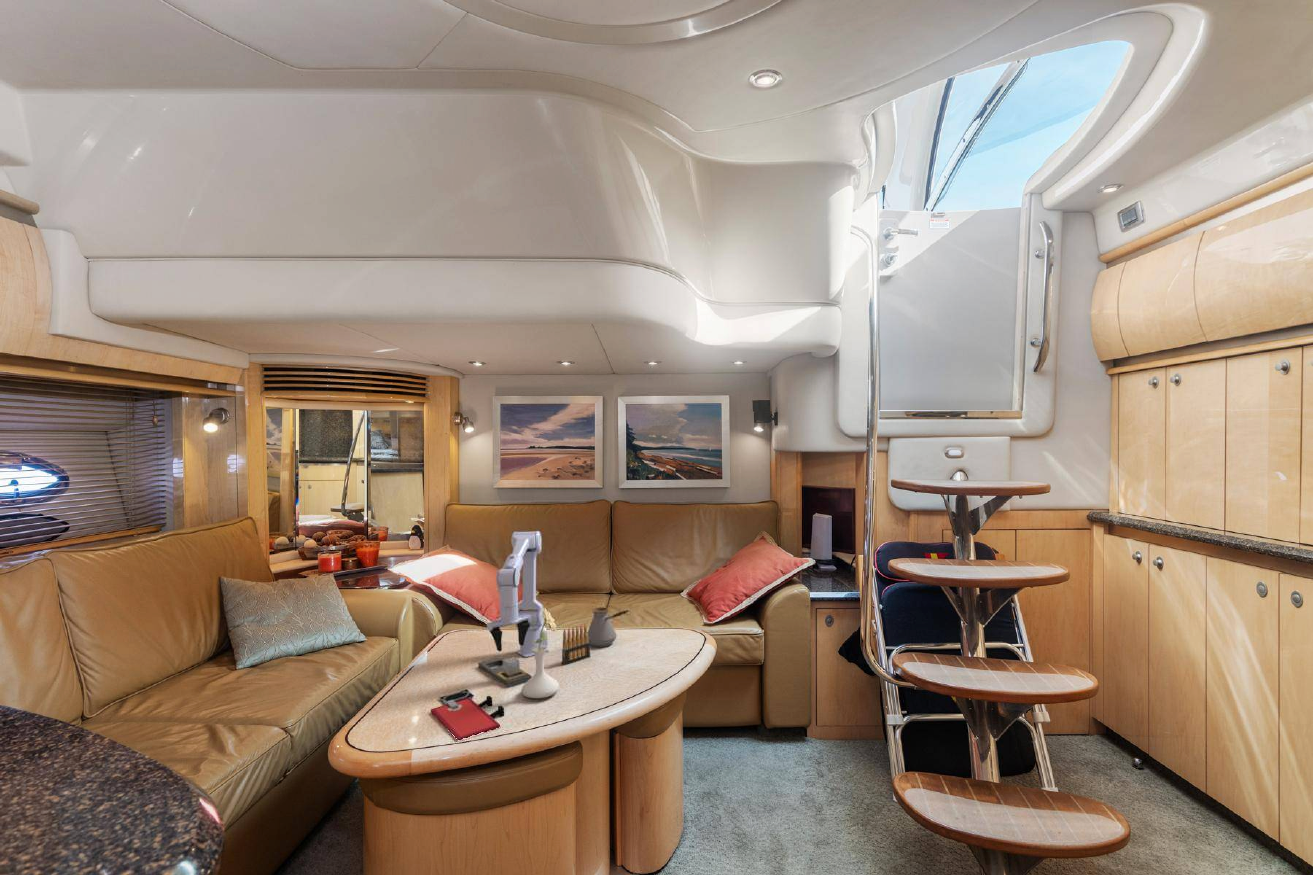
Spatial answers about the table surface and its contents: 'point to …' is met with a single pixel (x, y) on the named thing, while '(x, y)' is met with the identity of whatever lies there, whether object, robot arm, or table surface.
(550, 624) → the flower in vase
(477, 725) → the red board with handle
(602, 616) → the coffee pot
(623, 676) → the table surface
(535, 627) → the robot arm
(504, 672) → the grey rectangular block
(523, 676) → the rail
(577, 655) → the ammunition clip
